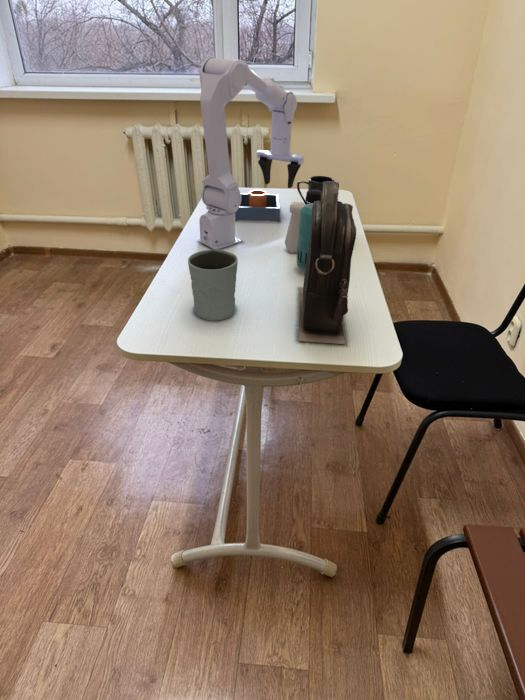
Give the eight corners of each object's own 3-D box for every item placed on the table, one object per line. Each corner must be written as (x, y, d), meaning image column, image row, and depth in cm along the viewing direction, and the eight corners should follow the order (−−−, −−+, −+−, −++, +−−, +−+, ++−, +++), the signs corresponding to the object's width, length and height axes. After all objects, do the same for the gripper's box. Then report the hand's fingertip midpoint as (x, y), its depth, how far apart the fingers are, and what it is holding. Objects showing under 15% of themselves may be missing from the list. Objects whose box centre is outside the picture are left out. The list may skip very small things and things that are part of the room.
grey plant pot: (195, 324, 98) (192, 272, 91) (187, 301, 106) (184, 251, 99) (243, 318, 100) (243, 266, 93) (232, 296, 108) (231, 246, 101)
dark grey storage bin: (279, 222, 147) (279, 208, 144) (235, 221, 146) (235, 207, 144) (277, 207, 158) (278, 194, 155) (237, 206, 157) (237, 193, 155)
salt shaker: (305, 255, 127) (309, 207, 120) (284, 254, 127) (287, 206, 120) (304, 246, 132) (308, 200, 125) (284, 245, 132) (286, 199, 125)
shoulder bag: (299, 288, 112) (310, 165, 96) (338, 290, 112) (355, 167, 95) (298, 342, 94) (311, 201, 77) (344, 345, 93) (367, 204, 77)
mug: (294, 204, 161) (295, 175, 156) (328, 204, 162) (331, 175, 156) (296, 212, 154) (298, 182, 149) (333, 212, 155) (336, 183, 150)
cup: (256, 217, 148) (256, 196, 145) (245, 212, 152) (245, 192, 148) (269, 213, 151) (270, 193, 148) (258, 208, 155) (258, 188, 151)
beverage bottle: (322, 266, 122) (331, 188, 110) (318, 278, 117) (327, 197, 105) (298, 263, 123) (304, 185, 111) (292, 274, 118) (298, 193, 106)
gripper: (309, 138, 137) (305, 185, 145) (264, 132, 142) (263, 178, 150) (300, 142, 132) (296, 191, 140) (253, 136, 137) (253, 184, 144)
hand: (278, 185), depth 144 cm, fingers open, 7 cm apart
